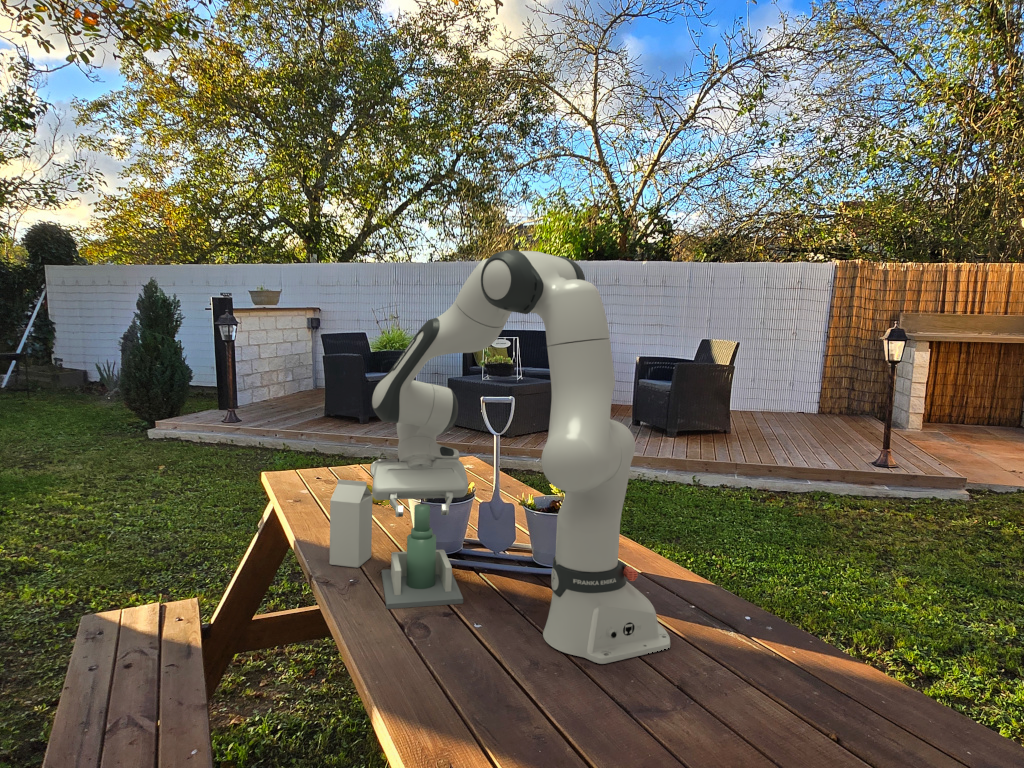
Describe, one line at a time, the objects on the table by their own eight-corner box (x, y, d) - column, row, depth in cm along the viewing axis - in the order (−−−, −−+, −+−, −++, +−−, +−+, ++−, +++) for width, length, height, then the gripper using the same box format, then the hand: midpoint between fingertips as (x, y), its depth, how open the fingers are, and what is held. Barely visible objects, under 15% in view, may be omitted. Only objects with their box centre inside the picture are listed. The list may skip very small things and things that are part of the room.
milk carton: (358, 568, 143) (359, 485, 142) (329, 565, 145) (330, 482, 143) (371, 557, 150) (373, 478, 149) (343, 554, 152) (344, 476, 150)
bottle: (433, 576, 137) (434, 501, 136) (437, 587, 132) (438, 509, 130) (405, 578, 136) (406, 502, 135) (407, 589, 130) (409, 510, 129)
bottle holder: (449, 570, 144) (449, 544, 144) (463, 603, 127) (464, 574, 127) (381, 574, 141) (382, 547, 140) (386, 609, 123) (387, 578, 123)
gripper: (370, 451, 136) (371, 509, 127) (465, 449, 141) (472, 505, 132) (369, 467, 140) (370, 524, 132) (461, 465, 145) (468, 520, 137)
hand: (422, 514), depth 132 cm, fingers open, 8 cm apart
